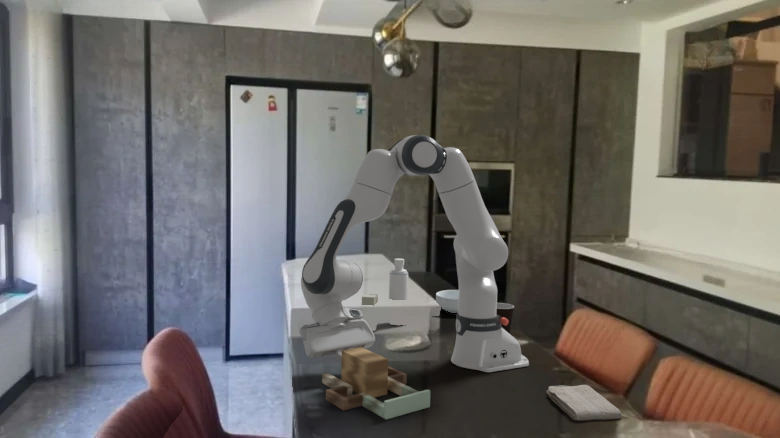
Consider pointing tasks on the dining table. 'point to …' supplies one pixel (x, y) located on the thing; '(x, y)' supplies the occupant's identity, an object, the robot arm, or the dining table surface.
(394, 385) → the lane
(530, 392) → the dining table surface
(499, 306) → the coffee mug
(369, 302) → the skincare box
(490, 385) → the dining table surface
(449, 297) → the cereal bowl
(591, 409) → the washcloth
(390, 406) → the end wall
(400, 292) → the white bottle
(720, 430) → the dining table surface
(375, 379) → the block
